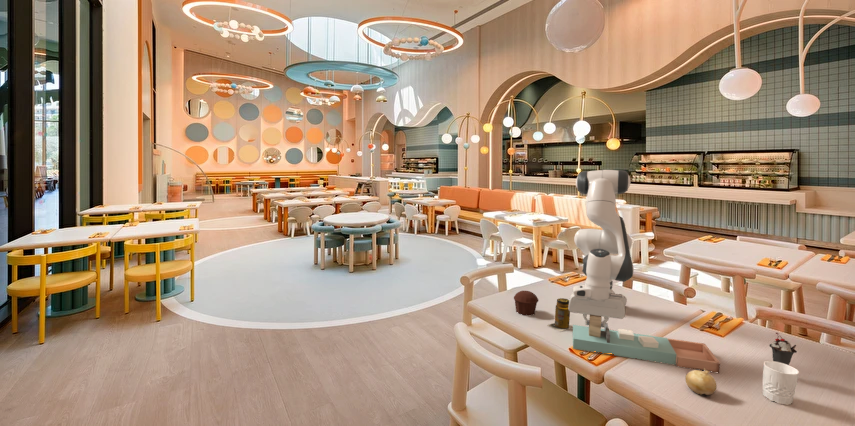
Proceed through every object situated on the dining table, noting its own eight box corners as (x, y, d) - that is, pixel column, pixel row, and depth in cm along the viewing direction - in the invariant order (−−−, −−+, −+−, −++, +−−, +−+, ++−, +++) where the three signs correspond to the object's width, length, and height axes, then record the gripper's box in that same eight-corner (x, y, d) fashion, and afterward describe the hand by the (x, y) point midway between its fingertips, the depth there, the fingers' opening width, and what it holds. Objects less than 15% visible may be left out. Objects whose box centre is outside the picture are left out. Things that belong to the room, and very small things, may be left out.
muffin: (543, 313, 183) (544, 293, 182) (527, 318, 177) (528, 297, 176) (523, 306, 193) (524, 286, 192) (508, 310, 187) (508, 290, 186)
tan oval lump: (713, 402, 115) (716, 380, 114) (682, 391, 121) (684, 370, 120) (716, 391, 121) (719, 369, 120) (686, 381, 126) (688, 360, 126)
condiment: (573, 327, 168) (575, 300, 167) (560, 332, 163) (562, 304, 162) (559, 321, 174) (560, 296, 173) (546, 326, 169) (548, 299, 168)
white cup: (758, 388, 123) (762, 358, 122) (791, 396, 119) (796, 365, 117) (761, 400, 117) (765, 368, 115) (797, 409, 112) (801, 377, 111)
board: (572, 333, 161) (573, 324, 161) (666, 347, 150) (667, 337, 149) (572, 348, 148) (573, 338, 148) (675, 365, 137) (676, 354, 136)
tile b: (638, 340, 147) (638, 335, 146) (652, 342, 146) (653, 337, 145) (643, 346, 142) (643, 341, 141) (658, 348, 141) (658, 342, 141)
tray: (666, 346, 151) (667, 338, 150) (704, 352, 147) (704, 343, 146) (677, 366, 136) (678, 357, 135) (719, 373, 132) (720, 363, 131)
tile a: (617, 333, 153) (618, 328, 153) (631, 335, 151) (632, 330, 151) (619, 338, 148) (619, 333, 148) (633, 340, 147) (634, 335, 146)
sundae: (760, 371, 133) (765, 329, 131) (778, 370, 134) (783, 329, 132) (779, 382, 127) (785, 338, 125) (798, 381, 127) (804, 338, 125)
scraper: (588, 327, 158) (589, 308, 157) (606, 330, 156) (608, 311, 155) (589, 339, 147) (590, 319, 146) (609, 342, 144) (611, 322, 144)
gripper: (625, 292, 149) (623, 326, 151) (569, 286, 156) (567, 319, 158) (628, 297, 143) (625, 333, 145) (569, 290, 150) (567, 324, 152)
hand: (594, 325), depth 151 cm, fingers closed on scraper, 4 cm apart
